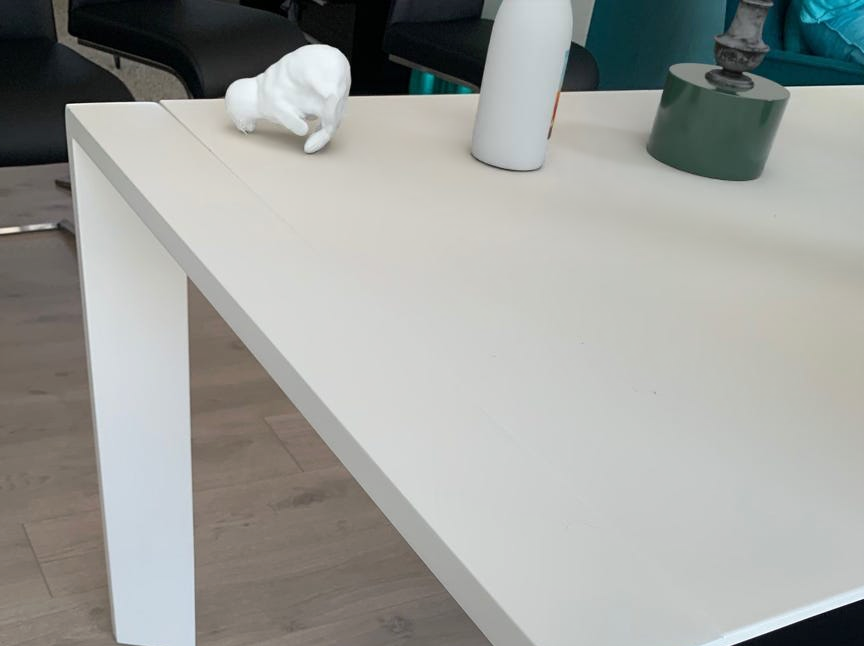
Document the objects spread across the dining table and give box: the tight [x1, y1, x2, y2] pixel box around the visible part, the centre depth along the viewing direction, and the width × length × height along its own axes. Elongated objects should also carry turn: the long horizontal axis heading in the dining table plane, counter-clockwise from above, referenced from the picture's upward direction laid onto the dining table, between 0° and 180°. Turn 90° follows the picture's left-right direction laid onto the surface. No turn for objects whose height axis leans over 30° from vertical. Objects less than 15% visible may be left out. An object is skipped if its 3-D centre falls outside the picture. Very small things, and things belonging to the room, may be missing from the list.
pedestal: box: [646, 62, 791, 181], centre depth 111 cm, size 13×13×8 cm
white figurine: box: [224, 44, 352, 154], centre depth 96 cm, size 6×8×12 cm
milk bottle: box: [470, 0, 574, 171], centre depth 97 cm, size 8×8×20 cm
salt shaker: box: [705, 0, 774, 88], centre depth 104 cm, size 6×6×12 cm
